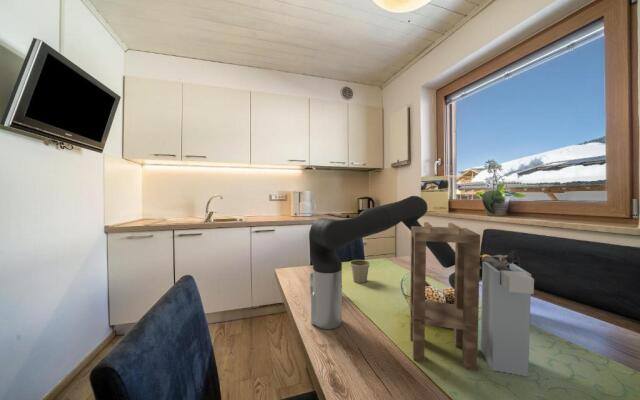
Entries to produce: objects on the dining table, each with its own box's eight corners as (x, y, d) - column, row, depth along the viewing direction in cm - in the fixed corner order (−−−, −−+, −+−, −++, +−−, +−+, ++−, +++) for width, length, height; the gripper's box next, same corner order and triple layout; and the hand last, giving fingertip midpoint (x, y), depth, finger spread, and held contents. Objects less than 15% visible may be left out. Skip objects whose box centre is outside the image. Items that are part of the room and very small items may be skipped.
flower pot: (346, 279, 118) (346, 261, 118) (362, 276, 122) (362, 258, 122) (356, 286, 110) (357, 266, 110) (374, 282, 114) (374, 264, 114)
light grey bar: (509, 291, 53) (509, 277, 53) (477, 264, 73) (477, 253, 72) (533, 293, 52) (534, 278, 52) (494, 265, 71) (494, 254, 71)
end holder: (492, 370, 58) (495, 271, 57) (480, 349, 66) (482, 261, 65) (528, 376, 56) (531, 274, 55) (511, 354, 64) (514, 264, 63)
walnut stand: (413, 360, 62) (415, 227, 61) (409, 335, 73) (411, 221, 71) (477, 370, 58) (480, 229, 57) (463, 343, 69) (466, 223, 67)
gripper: (451, 255, 83) (463, 239, 69) (500, 258, 79) (524, 241, 65) (453, 278, 79) (467, 266, 66) (505, 282, 76) (532, 270, 62)
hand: (496, 254), depth 65 cm, fingers open, 8 cm apart
